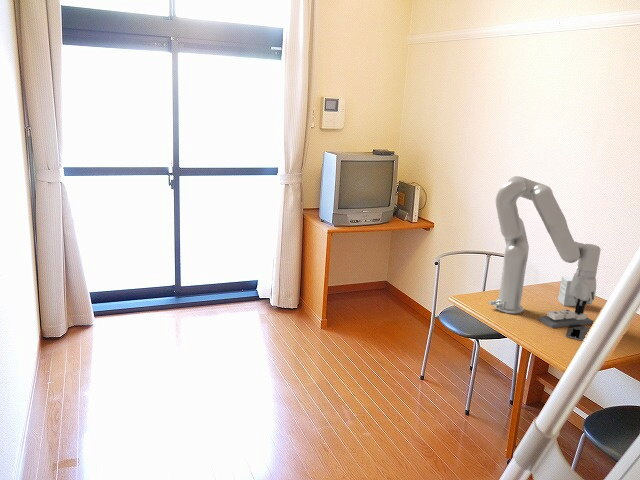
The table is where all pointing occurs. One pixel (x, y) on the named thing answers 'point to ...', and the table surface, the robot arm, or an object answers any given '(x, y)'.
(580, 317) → the tile three
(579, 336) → the smartphone
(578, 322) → the button board
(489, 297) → the table surface
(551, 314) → the tile one
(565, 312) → the tile two
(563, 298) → the supplement box
